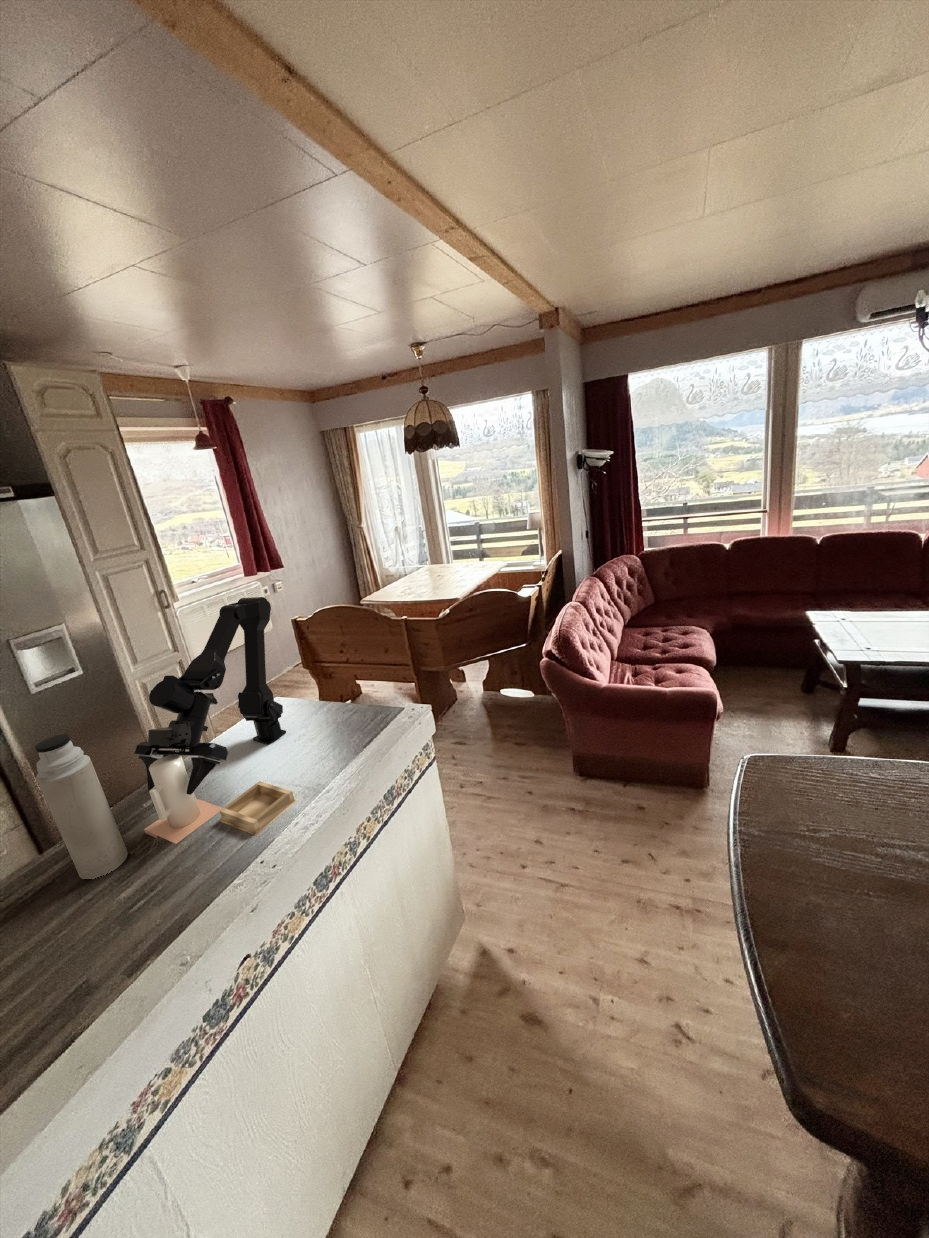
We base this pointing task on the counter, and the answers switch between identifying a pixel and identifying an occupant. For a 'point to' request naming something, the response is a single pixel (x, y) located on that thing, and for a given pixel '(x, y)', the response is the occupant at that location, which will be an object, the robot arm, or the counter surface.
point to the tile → (178, 834)
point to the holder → (257, 807)
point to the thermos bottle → (79, 807)
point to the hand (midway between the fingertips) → (169, 793)
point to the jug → (173, 792)
